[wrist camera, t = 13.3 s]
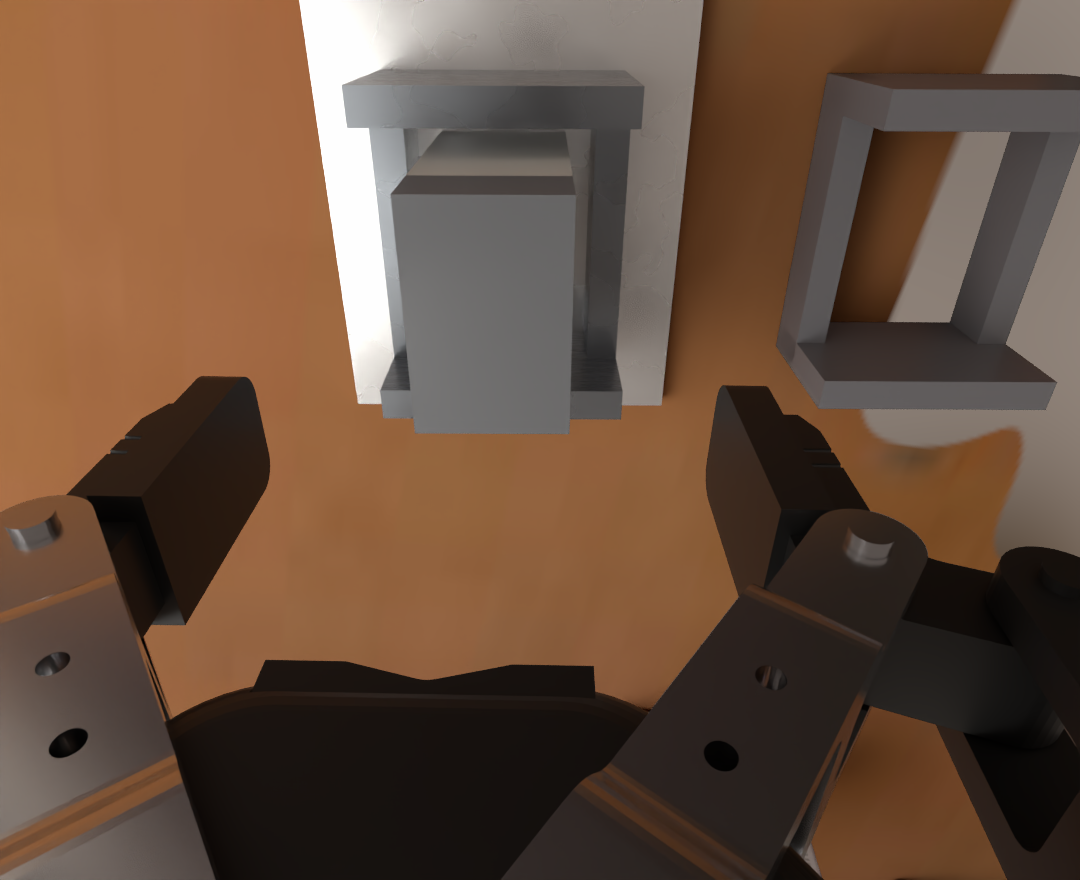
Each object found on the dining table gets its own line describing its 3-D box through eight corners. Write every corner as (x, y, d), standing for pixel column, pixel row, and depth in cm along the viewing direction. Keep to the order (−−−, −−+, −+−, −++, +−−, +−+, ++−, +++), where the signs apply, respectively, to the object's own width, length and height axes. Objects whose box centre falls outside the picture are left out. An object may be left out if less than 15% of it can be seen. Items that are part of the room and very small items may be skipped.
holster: (1060, 74, 23) (1180, 90, 18) (967, 347, 28) (1045, 409, 23) (827, 73, 23) (893, 89, 18) (776, 345, 28) (818, 408, 23)
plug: (565, 131, 23) (576, 195, 15) (561, 307, 26) (569, 433, 19) (441, 131, 23) (390, 194, 15) (452, 307, 26) (415, 433, 19)
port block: (701, -13, 22) (745, -18, 17) (659, 398, 29) (682, 476, 24) (302, -15, 22) (234, -20, 17) (361, 396, 29) (325, 474, 24)
